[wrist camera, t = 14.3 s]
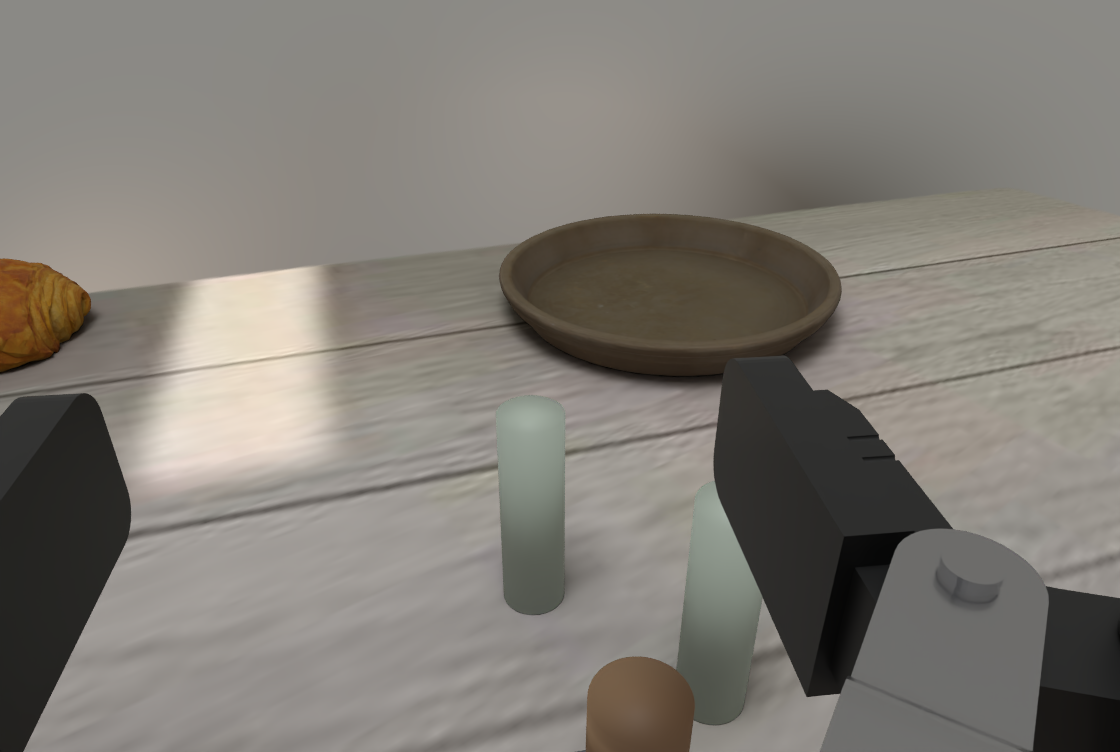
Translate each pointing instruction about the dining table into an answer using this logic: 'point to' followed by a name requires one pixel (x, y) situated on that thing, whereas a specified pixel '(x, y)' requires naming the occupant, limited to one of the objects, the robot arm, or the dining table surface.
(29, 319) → the croissant
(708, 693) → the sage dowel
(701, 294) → the plant saucer
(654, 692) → the walnut dowel
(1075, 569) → the dining table surface
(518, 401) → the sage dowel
